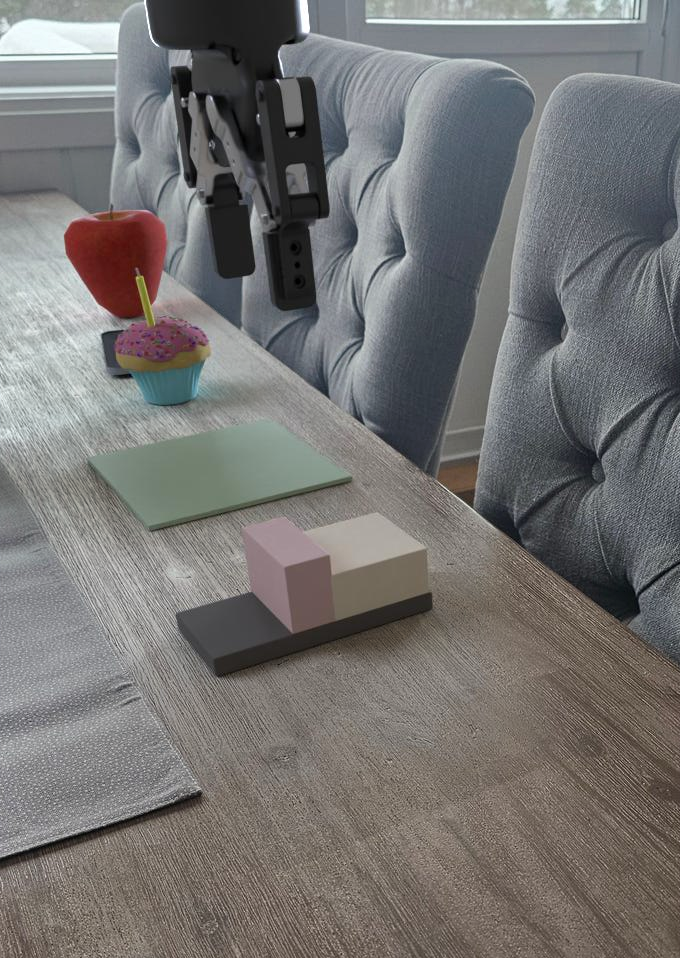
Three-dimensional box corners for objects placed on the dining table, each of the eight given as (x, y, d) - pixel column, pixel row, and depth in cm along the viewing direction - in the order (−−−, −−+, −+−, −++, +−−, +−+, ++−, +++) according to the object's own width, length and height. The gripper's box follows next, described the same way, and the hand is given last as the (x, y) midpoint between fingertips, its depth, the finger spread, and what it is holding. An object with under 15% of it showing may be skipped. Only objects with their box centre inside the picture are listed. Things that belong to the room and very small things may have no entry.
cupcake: (195, 413, 100) (172, 274, 94) (107, 410, 102) (78, 273, 95) (230, 383, 107) (211, 252, 101) (146, 380, 109) (123, 251, 102)
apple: (159, 297, 137) (141, 190, 130) (192, 315, 129) (174, 203, 122) (68, 312, 131) (44, 202, 125) (97, 332, 124) (73, 216, 117)
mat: (149, 531, 79) (148, 526, 79) (87, 462, 91) (86, 457, 91) (352, 480, 86) (352, 475, 86) (270, 422, 98) (270, 417, 98)
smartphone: (169, 324, 123) (183, 360, 110) (171, 332, 123) (185, 369, 111) (99, 331, 121) (105, 369, 109) (101, 340, 121) (107, 378, 109)
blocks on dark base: (216, 677, 63) (200, 590, 60) (178, 630, 67) (162, 547, 64) (433, 609, 69) (429, 527, 66) (384, 569, 73) (378, 491, 70)
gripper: (95, -65, 55) (155, 277, 64) (186, -80, 45) (244, 332, 53) (240, -68, 58) (279, 259, 67) (358, -82, 48) (386, 307, 56)
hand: (264, 291), depth 60 cm, fingers open, 8 cm apart
